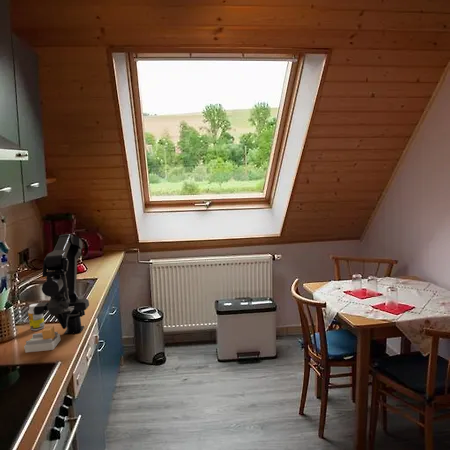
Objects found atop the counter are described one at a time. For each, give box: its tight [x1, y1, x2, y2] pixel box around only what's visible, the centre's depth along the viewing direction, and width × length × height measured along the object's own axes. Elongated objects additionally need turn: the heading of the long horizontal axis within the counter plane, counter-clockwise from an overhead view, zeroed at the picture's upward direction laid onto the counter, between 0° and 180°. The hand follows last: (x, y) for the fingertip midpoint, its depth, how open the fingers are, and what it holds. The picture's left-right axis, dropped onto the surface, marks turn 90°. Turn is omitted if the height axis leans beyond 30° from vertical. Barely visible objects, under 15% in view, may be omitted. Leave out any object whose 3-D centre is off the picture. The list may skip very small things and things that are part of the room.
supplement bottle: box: [27, 303, 46, 331], centre depth 183 cm, size 6×6×10 cm
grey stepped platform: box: [24, 331, 62, 353], centre depth 164 cm, size 9×10×4 cm
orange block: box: [41, 325, 56, 340], centre depth 164 cm, size 4×3×4 cm
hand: (64, 328), depth 164 cm, fingers closed
